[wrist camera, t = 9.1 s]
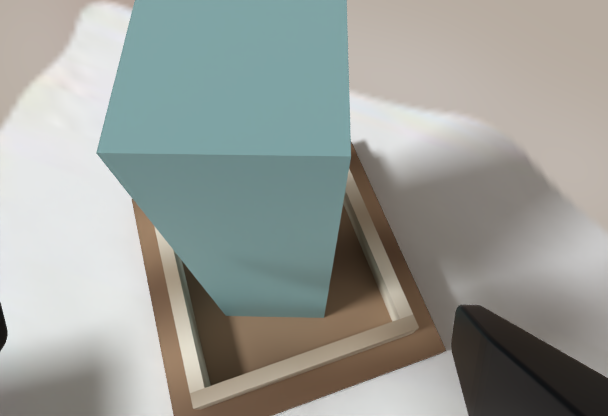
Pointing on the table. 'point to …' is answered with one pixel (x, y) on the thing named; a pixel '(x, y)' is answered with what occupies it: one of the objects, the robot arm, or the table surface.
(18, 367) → the table surface
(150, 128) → the column block
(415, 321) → the base plate
